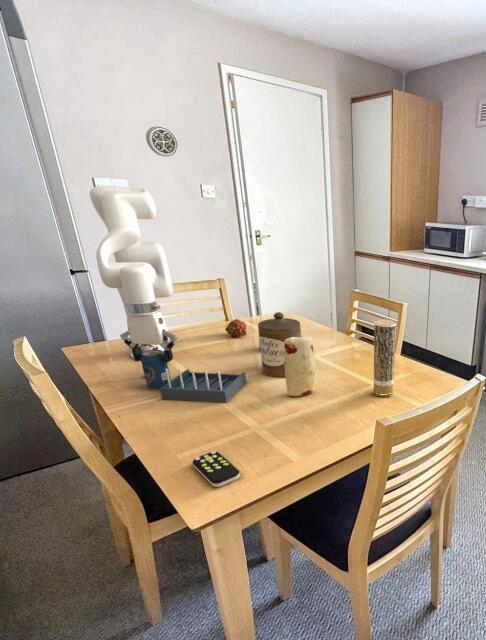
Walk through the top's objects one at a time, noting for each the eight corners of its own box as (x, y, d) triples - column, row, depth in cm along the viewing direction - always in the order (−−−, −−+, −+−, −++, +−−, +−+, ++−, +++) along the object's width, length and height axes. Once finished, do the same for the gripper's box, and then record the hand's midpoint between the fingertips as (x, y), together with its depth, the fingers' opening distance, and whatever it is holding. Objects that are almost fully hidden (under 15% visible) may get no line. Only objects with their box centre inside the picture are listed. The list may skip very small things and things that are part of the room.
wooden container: (254, 372, 150) (247, 314, 141) (279, 360, 163) (275, 305, 154) (288, 380, 145) (283, 320, 136) (311, 366, 158) (308, 311, 149)
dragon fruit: (239, 343, 183) (234, 340, 192) (253, 331, 185) (248, 327, 194) (224, 329, 178) (220, 326, 188) (239, 316, 180) (235, 314, 190)
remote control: (215, 490, 90) (214, 482, 89) (191, 465, 97) (190, 458, 96) (242, 477, 94) (241, 470, 93) (217, 455, 101) (216, 448, 101)
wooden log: (396, 391, 142) (398, 321, 132) (388, 399, 136) (390, 326, 126) (378, 387, 144) (379, 318, 134) (370, 395, 138) (370, 323, 128)
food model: (290, 401, 131) (285, 341, 123) (283, 393, 136) (278, 335, 128) (319, 394, 136) (316, 337, 128) (311, 387, 141) (308, 331, 133)
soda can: (142, 388, 133) (134, 353, 129) (161, 380, 139) (154, 347, 134) (157, 392, 131) (149, 357, 126) (176, 384, 137) (169, 351, 132)
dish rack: (188, 379, 142) (184, 353, 138) (246, 382, 142) (243, 356, 138) (162, 399, 127) (156, 370, 123) (226, 402, 127) (222, 374, 123)
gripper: (177, 306, 128) (187, 357, 135) (122, 304, 128) (134, 355, 134) (163, 311, 121) (174, 365, 128) (105, 309, 121) (119, 363, 128)
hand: (154, 360), depth 131 cm, fingers open, 9 cm apart
